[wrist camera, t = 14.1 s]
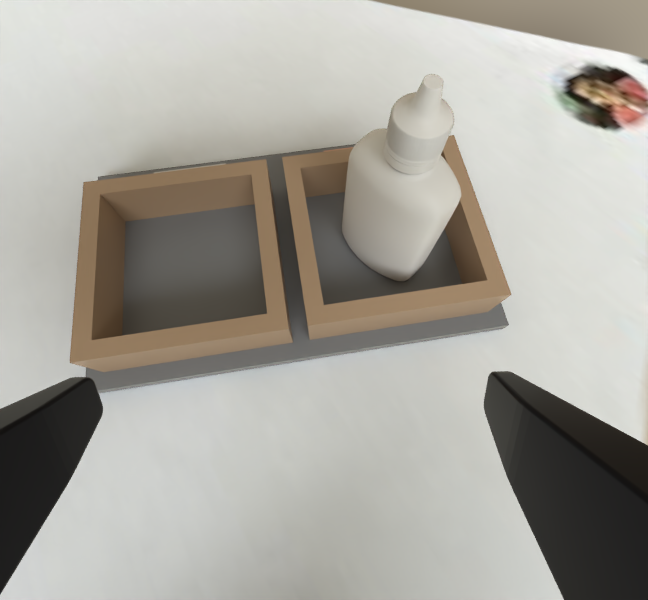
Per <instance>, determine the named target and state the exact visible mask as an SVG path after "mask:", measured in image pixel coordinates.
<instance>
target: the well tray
mask: <svg viewBox="0 0 648 600" xmlns="http://www.w3.org/2000/svg"><path fill="white" fill-rule="evenodd" d="M355 145H356V144H354V145H346V146H338V147H330V148H322V149H314V150H306V151H298V152H291V153H283V154H275V155H267V156H259V157H251V158H243V159H235V160H227V161H220V162H212V163H204V164H196V165H188V166H180V167H172V168H164V169H156V170H149V171H141V172H133V173H125V174H117V175H109V176H101V177H98V181H91V182H84V185H83V198H82V211H81V224H80V236H79V249H78V262H77V275H76V288H75V301H74V314H73V326H72V339H71V352H70V363H72V364H76V365H79V366H83V367H86V377H89V378H91V379H93V381H94V382H95V385H96V388H97V390H98V393H103V392H110V391H116V390H122V389H128V388H135V387H141V386H147V385H153V384H160V383H166V382H172V381H179V380H185V379H191V378H197V377H204V376H210V375H216V374H222V373H229V372H235V371H241V370H247V369H254V368H260V367H266V366H272V365H279V364H285V363H291V362H297V361H304V360H310V359H316V358H322V357H329V356H335V355H341V354H347V353H354V352H360V351H366V350H372V349H379V348H385V347H391V346H398V345H404V344H410V343H416V342H423V341H429V340H435V339H441V338H448V337H454V336H460V335H466V334H473V333H479V332H485V331H491V330H498V329H503V328H505V327H506V326H508V325H509V324H508V322H507V319H506V316H505V313H504V310H503V307H502V304H501V302H502V301H503V300H505V299H506V298H507V297H509V296H510V295H511V292H510V289H509V286H508V284H507V281H506V278H505V275H504V273H503V270H502V267H501V264H500V262H499V259H498V256H497V253H496V251H495V248H494V245H493V242H492V239H491V237H490V234H489V231H488V228H487V226H486V223H485V220H484V217H483V215H482V212H481V209H480V206H479V203H478V201H477V198H476V195H475V192H474V190H473V187H472V184H471V181H470V179H469V176H468V173H467V170H466V168H465V165H464V162H463V159H462V156H461V154H460V151H459V148H458V145H457V143H456V140H455V137H454V135H452V136H449V137H448V139H447V141H446V144H445V146H444V149H443V151H442V153H441V156H442V157H443V158H444V159H445V161H446V162H447V164H448V165H449V166H450V168H451V170H452V171H453V173H454V175H455V177H456V179H457V181H458V183H459V185H460V189H461V198H460V201H459V203H458V205H457V207H456V209H455V211H454V213H453V214H452V216H451V218H450V220H449V221H448V223H447V225H446V227H445V228H444V230H443V232H442V233H441V235H440V237H439V239H438V240H437V242H436V244H435V245H434V247H433V249H432V251H431V252H430V254H429V256H428V257H427V259H426V261H425V262H424V264H423V265H422V266H421V268H420V269H419V270H418V271H417V272H416V273H415V274H414V275H413V276H412V277H411V278H410V279H408V280H406V281H395V280H392V279H390V278H387V277H385V276H383V275H381V274H379V273H377V272H375V271H374V270H372V269H371V268H369V267H368V266H367V265H365V264H364V263H363V262H362V261H361V260H360V259H359V258H358V257H357V256H356V255H355V254H354V252H353V251H352V250H351V248H350V247H349V245H348V243H347V242H346V240H345V238H344V235H343V233H342V220H343V209H344V199H345V189H346V179H347V169H348V162H349V156H350V152H351V151H352V149H353V147H354V146H355Z"/></svg>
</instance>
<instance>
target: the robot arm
mask: <svg viewBox="0 0 648 600" xmlns="http://www.w3.org/2000/svg"><path fill="white" fill-rule="evenodd" d="M484 410H485V414H486V417H487V420H488V423H489V426H490V429H491V432H492V435H493V437H494V440H495V443H496V446H497V449H498V452H499V455H500V458H501V461H502V464H503V467H504V469H505V472H506V475H507V477H508V480H509V482H510V484H511V487H512V489H513V491H514V493H515V495H516V497H517V500H518V502H519V504H520V506H521V508H522V510H523V512H524V515H525V517H526V519H527V521H528V523H529V525H530V528H531V530H532V532H533V534H534V536H535V538H536V540H537V543H538V545H539V547H540V549H541V551H542V553H543V555H544V558H545V560H546V562H547V564H548V566H549V568H550V570H551V573H552V575H553V577H554V579H555V581H556V583H557V585H558V588H559V590H560V592H561V594H562V596H563V598H564V600H648V445H646V444H644V443H642V442H640V441H638V440H637V439H635V438H633V437H631V436H629V435H627V434H625V433H624V432H622V431H620V430H618V429H616V428H614V427H612V426H611V425H609V424H607V423H605V422H603V421H601V420H599V419H598V418H596V417H594V416H592V415H590V414H588V413H586V412H585V411H583V410H581V409H579V408H577V407H575V406H573V405H572V404H570V403H568V402H566V401H564V400H562V399H560V398H558V397H557V396H555V395H553V394H551V393H549V392H547V391H545V390H544V389H542V388H540V387H538V386H536V385H534V384H532V383H531V382H529V381H527V380H525V379H523V378H521V377H519V376H518V375H516V374H514V373H512V372H508V371H504V372H492V373H490V375H489V377H488V382H487V387H486V393H485V399H484ZM102 413H103V406H102V402H101V399H100V396H99V393H98V390H97V388H96V385H95V382H94V381H93V379H91V378H89V377H73V378H69V379H67V380H65V381H62V382H60V383H58V384H56V385H53V386H51V387H49V388H47V389H44V390H42V391H40V392H38V393H35V394H33V395H31V396H29V397H26V398H24V399H22V400H19V401H17V402H15V403H13V404H10V405H8V406H6V407H4V408H1V409H0V594H1V592H2V591H3V589H4V588H5V586H6V584H7V583H8V581H9V579H10V578H11V576H12V574H13V573H14V571H15V570H16V568H17V566H18V565H19V563H20V561H21V560H22V558H23V556H24V555H25V553H26V552H27V550H28V548H29V547H30V545H31V543H32V542H33V540H34V538H35V537H36V535H37V534H38V532H39V530H40V529H41V527H42V525H43V524H44V522H45V520H46V519H47V517H48V516H49V514H50V512H51V511H52V509H53V507H54V506H55V504H56V502H57V501H58V499H59V498H60V496H61V494H62V493H63V491H64V489H65V488H66V486H67V484H68V482H69V481H70V479H71V477H72V475H73V473H74V471H75V469H76V468H77V466H78V463H79V461H80V459H81V457H82V455H83V453H84V451H85V449H86V447H87V445H88V443H89V441H90V439H91V437H92V435H93V433H94V431H95V429H96V427H97V425H98V423H99V421H100V419H101V416H102Z"/></svg>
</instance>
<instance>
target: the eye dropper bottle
mask: <svg viewBox="0 0 648 600" xmlns="http://www.w3.org/2000/svg"><path fill="white" fill-rule="evenodd" d="M442 90H443V79H442V78H441V77H440V76H438V75H435V74H430V75H427V76H425V77H424V79H423V81H422V83H421V85H420V87H419V89H418V91H417V92H415V93H410V94H407V95H405V96H403V97H401V98H400V99H398V101H396V103H395V104H394V105H393V108H392V110H391V114H390V119H389V123H388V128H387V129H376V130H374V131H371V132H370V133H368V134H367V135H366V136H365V137H363V138H362V139H361V140H360V141H359V142H358V143H357V144H356V145H355V146H354V147H353V149H352V151H351V152H350V156H349V162H348V169H347V179H346V189H345V199H344V209H343V220H342V233H343V235H344V238H345V240H346V242H347V243H348V245H349V247H350V248H351V250H352V251H353V252H354V254H355V255H356V256H357V257H358V258H359V259H360V260H361V261H362V262H363V263H364V264H365V265H367V266H368V267H369V268H371V269H372V270H374V271H375V272H377V273H379V274H381V275H383V276H385V277H387V278H390V279H392V280H395V281H406V280H408V279H410V278H411V277H412V276H413V275H414V274H415V273H416V272H417V271H418V270H419V269H420V268H421V266H422V265H423V264H424V262H425V261H426V259H427V257H428V256H429V254H430V252H431V251H432V249H433V247H434V245H435V244H436V242H437V240H438V239H439V237H440V235H441V233H442V232H443V230H444V228H445V227H446V225H447V223H448V221H449V220H450V218H451V216H452V214H453V213H454V211H455V209H456V207H457V205H458V203H459V201H460V198H461V189H460V185H459V183H458V181H457V179H456V177H455V175H454V173H453V171H452V170H451V168H450V166H449V165H448V164H447V162H446V161H445V159H444V158H443V157H442V156H441V153H442V151H443V149H444V146H445V144H446V141H447V139H448V137H449V134H450V132H451V130H452V127H453V125H454V115H453V111H452V109H451V107H450V106H449V105H448V103H447V102H446V101H445V100H443V99H442V98H441V97H442Z"/></svg>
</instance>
